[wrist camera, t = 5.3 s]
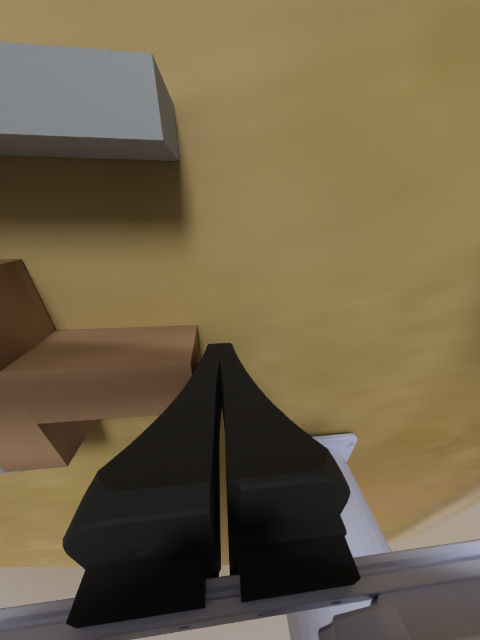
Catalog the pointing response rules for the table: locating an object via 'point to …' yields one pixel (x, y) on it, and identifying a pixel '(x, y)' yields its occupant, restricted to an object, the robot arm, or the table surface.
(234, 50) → the table surface
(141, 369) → the t block
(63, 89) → the gray l-shaped block
